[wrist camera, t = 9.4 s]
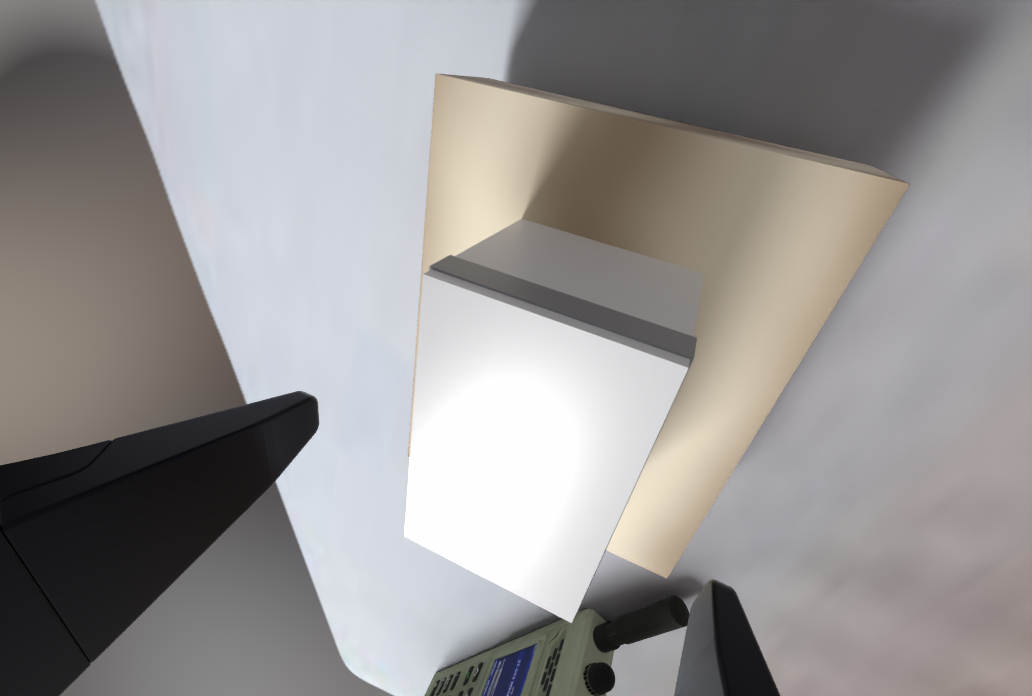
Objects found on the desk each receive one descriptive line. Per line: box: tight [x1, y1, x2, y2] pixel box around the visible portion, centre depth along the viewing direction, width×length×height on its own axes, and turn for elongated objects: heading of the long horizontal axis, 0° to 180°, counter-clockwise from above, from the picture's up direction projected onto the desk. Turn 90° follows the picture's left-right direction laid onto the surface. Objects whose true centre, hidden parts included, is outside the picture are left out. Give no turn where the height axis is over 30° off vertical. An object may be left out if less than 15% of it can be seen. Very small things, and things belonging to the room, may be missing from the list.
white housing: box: [404, 219, 704, 623], centre depth 12 cm, size 5×8×5 cm, turn 169°
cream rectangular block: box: [408, 74, 910, 578], centre depth 16 cm, size 11×14×4 cm
